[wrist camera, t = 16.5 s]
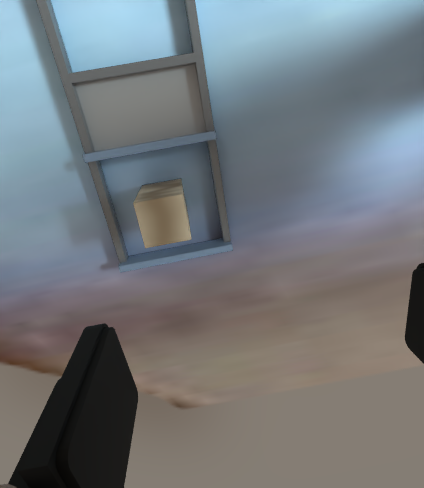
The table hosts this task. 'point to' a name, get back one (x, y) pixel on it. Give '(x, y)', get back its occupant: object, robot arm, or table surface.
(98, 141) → the grey flat frame
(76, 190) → the table surface
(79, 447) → the robot arm
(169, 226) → the tan wooden block
